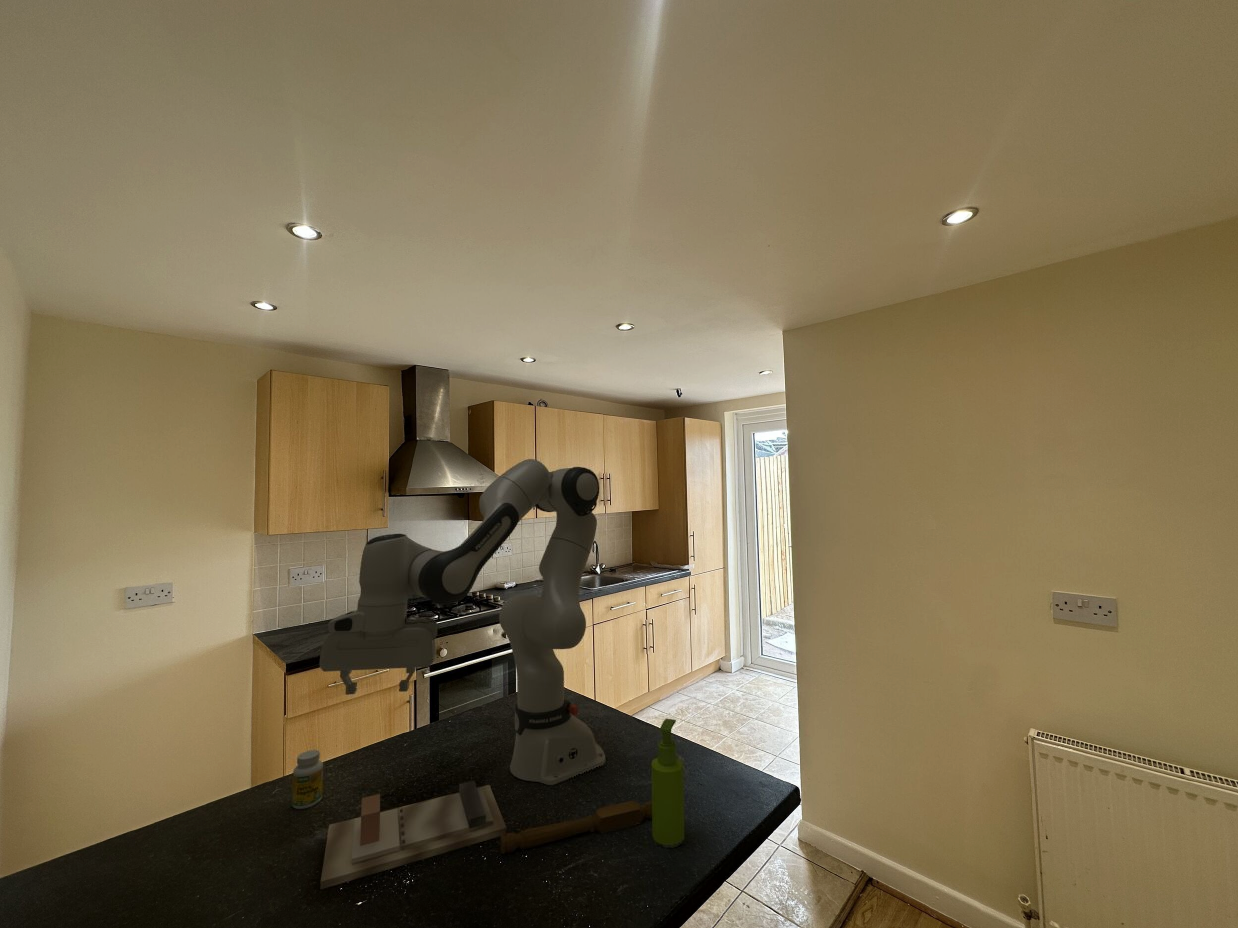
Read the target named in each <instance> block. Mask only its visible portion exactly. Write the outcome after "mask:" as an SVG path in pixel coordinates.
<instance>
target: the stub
mask: <svg viewBox="0 0 1238 928" xmlns="http://www.w3.org/2000/svg"><path fill="white" fill-rule="evenodd" d="M392 809H393V810H390V809H388V810H389V811H386V810H384V811H385V812H382V811H381V794H380V793H377V794H373V795H370V796H366V797H362V798H361V809H360V811H361V813H360V817H361V818H358V817H356V818H357V819H355V821H354V834H353V847H352V863H351V864H354V863H357V862H361V861H364V860H368V859H371V858H375V857H378V856H382V855H385V854H389V853H392V852H396V851H399V830H398V814H397V809H394V808H392ZM380 812H381V813H380Z"/></svg>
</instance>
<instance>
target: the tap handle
mask: <svg viewBox="0 0 1238 928" xmlns="http://www.w3.org/2000/svg"><path fill="white" fill-rule="evenodd" d="M647 817H648V818H647ZM645 818H647V819H652V800H650V801H649V800H648V801H646V802H645V803H644V804H643V805H642V804H639V802H638V801H636V800H634V799H633V800H630V801H625V802H621V803H615V804H611V805H607V806H602V807H598V808H597V809H596V810H595V813H594V815H592V814H588V817H584V818H580V819H574V820H573V819H572V820H568V821H561V822H557V823H552V824H546V825H542V826H536V827H530V828H526V829H525V830H522V829H521V830H520V831H519V832H518V833H515V832H508V833H506V835H504V834H503V835H501V836H500V840H499V841H500V853H501V854H503V855H504V854H506V853H508V854H509V853H513V852H514V851H515V850H517V849H518V848H520V849H521V850H525V849H527V848H528V849H530V848H534V847H537V846H541V845H545V844H548V843H552V842H555V841H559V840H562V839H566V838H569V837H571V836H572V837H573V836H576V835H579V834H583V833H587V832H590V833H594V832H595V831H596V830H597V831H596V832H598V833H600V834H603V833H602V832H606V831H610V830H614V829H618V828H622V827H625V826H630V825H634V824H637V823H640V822H641V823H642V821H643V820H644V819H645ZM618 830H619V829H618ZM614 831H615V830H614ZM610 832H611V831H610ZM606 833H607V832H606Z"/></svg>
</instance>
